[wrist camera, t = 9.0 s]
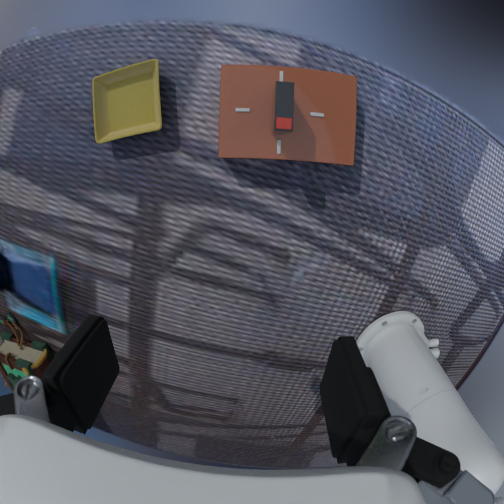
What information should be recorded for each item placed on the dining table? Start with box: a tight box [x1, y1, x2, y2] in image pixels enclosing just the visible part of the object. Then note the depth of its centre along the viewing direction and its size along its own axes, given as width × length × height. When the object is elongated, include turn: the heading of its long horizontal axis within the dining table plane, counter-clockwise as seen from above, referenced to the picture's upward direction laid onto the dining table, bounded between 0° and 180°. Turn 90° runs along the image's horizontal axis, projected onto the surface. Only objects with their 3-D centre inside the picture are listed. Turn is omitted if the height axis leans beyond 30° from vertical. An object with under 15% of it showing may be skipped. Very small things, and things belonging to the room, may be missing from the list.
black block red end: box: [271, 81, 294, 134], centre depth 23 cm, size 5×2×4 cm, turn 178°
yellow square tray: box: [92, 59, 162, 144], centre depth 26 cm, size 9×9×2 cm
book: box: [0, 312, 53, 393], centre depth 39 cm, size 27×21×10 cm
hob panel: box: [218, 65, 357, 166], centre depth 27 cm, size 14×10×3 cm
